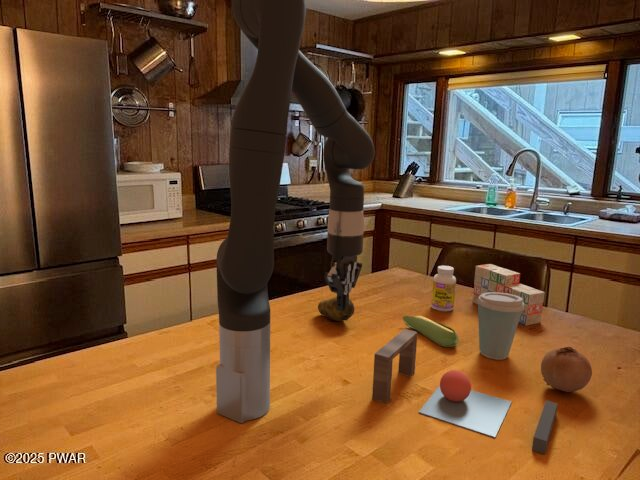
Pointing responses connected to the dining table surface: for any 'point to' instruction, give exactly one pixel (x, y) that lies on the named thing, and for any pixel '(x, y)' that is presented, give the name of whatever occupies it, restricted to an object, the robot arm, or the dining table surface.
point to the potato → (335, 310)
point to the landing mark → (469, 411)
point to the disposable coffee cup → (498, 323)
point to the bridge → (384, 359)
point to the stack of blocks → (509, 290)
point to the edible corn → (433, 330)
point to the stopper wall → (544, 427)
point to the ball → (455, 385)
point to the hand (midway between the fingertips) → (342, 309)
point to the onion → (566, 369)
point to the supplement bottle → (443, 289)
